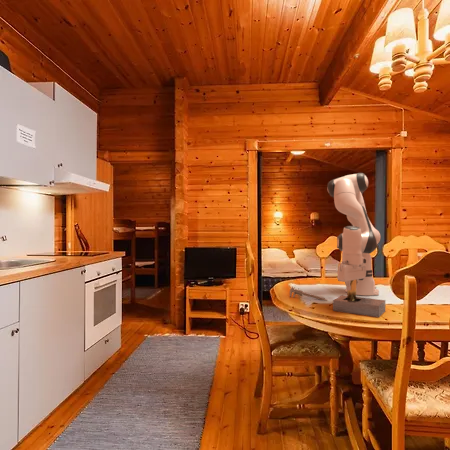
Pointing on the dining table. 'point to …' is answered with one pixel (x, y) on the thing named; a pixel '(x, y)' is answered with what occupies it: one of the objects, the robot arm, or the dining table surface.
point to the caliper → (304, 294)
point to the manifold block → (359, 306)
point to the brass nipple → (352, 291)
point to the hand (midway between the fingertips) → (351, 289)
